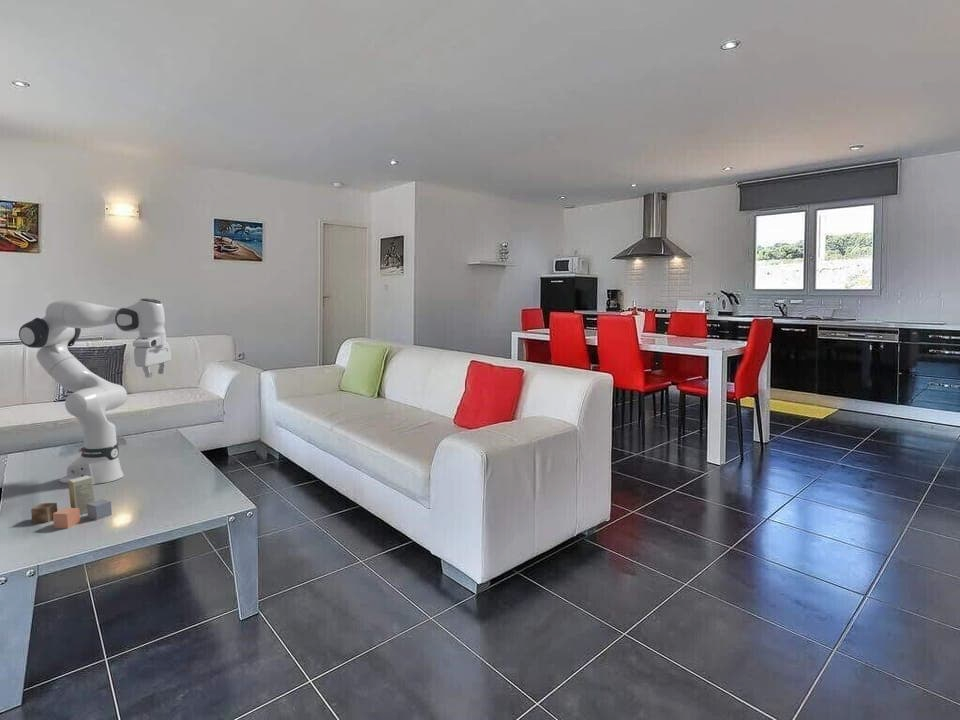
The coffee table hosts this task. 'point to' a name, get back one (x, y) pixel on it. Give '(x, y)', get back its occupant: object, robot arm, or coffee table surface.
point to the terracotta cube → (66, 517)
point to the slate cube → (99, 509)
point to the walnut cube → (43, 512)
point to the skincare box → (81, 492)
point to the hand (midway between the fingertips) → (155, 375)
